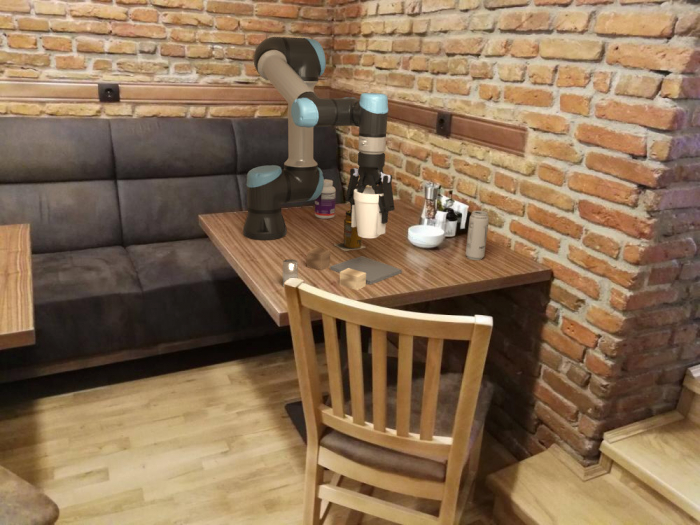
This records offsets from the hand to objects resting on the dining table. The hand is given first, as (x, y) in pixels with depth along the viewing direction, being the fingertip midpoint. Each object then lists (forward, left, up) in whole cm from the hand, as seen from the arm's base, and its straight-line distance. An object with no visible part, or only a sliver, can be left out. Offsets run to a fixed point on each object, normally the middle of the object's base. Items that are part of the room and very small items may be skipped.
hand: (368, 229), depth 160 cm
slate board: (0, 0, -13) cm, 13 cm away
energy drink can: (+15, +36, -13) cm, 41 cm away
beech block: (+5, -11, -13) cm, 18 cm away
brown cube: (-12, -8, -13) cm, 19 cm away
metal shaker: (-6, -24, -13) cm, 28 cm away
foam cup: (0, 0, -2) cm, 2 cm away
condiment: (-19, +13, -13) cm, 27 cm away
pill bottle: (-51, +32, -13) cm, 62 cm away
